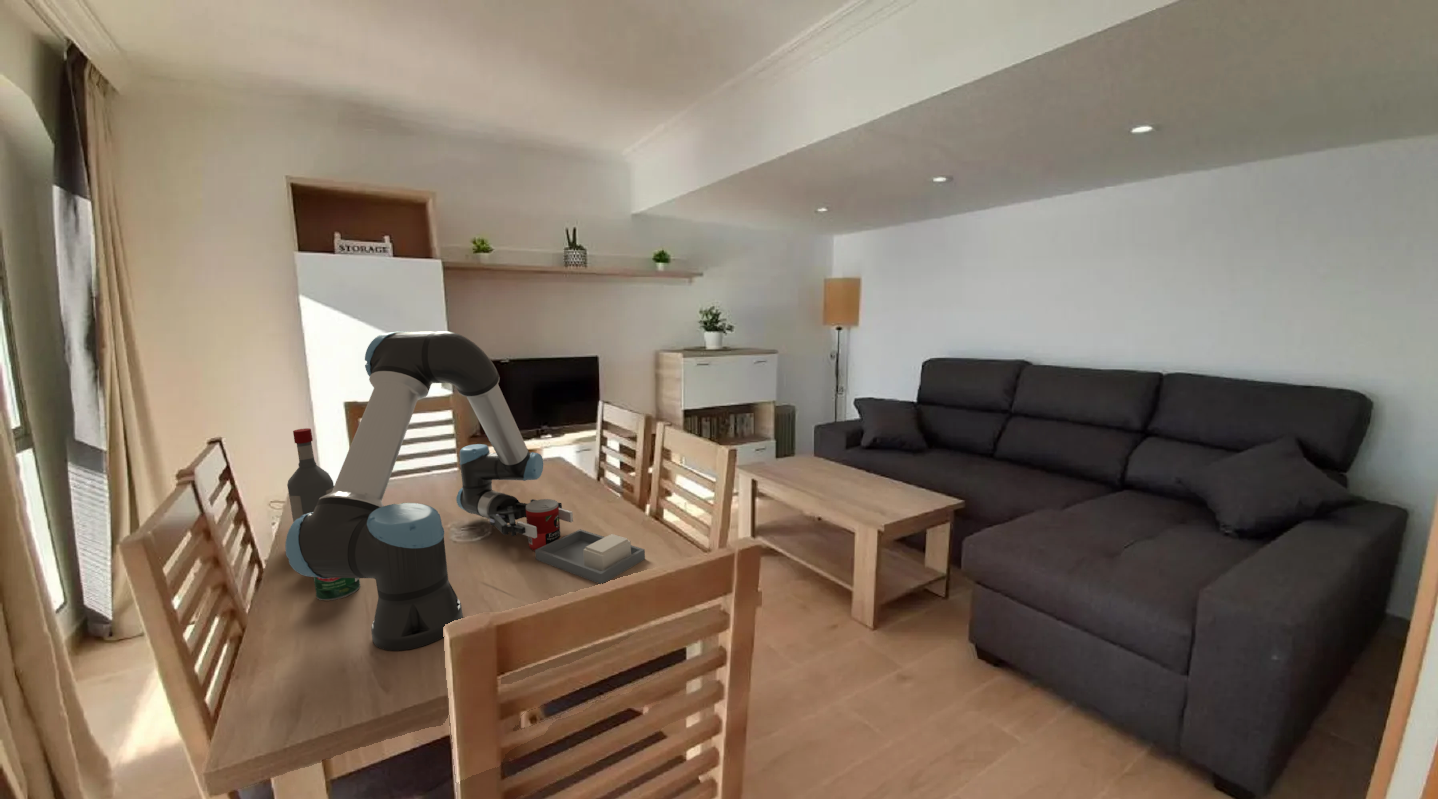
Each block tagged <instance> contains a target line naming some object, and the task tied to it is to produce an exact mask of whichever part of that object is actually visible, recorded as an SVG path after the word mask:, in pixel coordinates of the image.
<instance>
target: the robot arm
mask: <svg viewBox="0 0 1438 799" xmlns="http://www.w3.org/2000/svg"><path fill="white" fill-rule="evenodd" d="M364 361H366V363H365V365H364V368H365V371H366V373H367V375H368V378H369V379H368V381H369V383H370V384H371V386H372V387H373V390H372V392H371V395H370V397H369V400H368V401H367V405H366V407H365V410H364V412H363V414H362V416H361V419H360V421H359V424H358V427H357V429H356V432H355V434H354V437H353V438H352V440H351V441H352V442H351V444H350V447H349V449H348V452H347V453H346V456H345V459H344V461H343V464H342V466H341V469H340V471H339V474H338V476H337V478H336V480H335V483H334V488H333V490H332V492H331V493H329V494H327V495H325V496H322V497H320V498H319V500H318V502H317V505H316V507H315V510H314V512H310V513H307V514H304V515H302V516H301V517H300V518H298V519H296V520H295V521H294V522H293V521H292V523H291V525H290V527H289V529H288V531H287V533H286V538H285V542H284V543H285V555H286V558H287V559H288V564H289V565H290V567H291V568H292V569H293V570H294V571H295V572H296V573H298V574H299V575H302V576H304V577H309V578H310V577H312V578H314V577H319V578H322V579H327V578H359V579H374V580H375V582H376V583H375V584H376V590H377V597H378V599H377V604H376V608H375V613H374V619H373V621H372V624H371V627H370V628H371V638H372V642H373V644H374V646H375V647H377V648H379V649H381V650H384V651H385V650H386V651H406V650H407V651H408V650H412V649H416V648H420V647H421V648H422V647H424V646H426V645H430V644H432V643H434V642H437V641H439V640H441V639H442V638H444V637H443V627H444V626H445V624H448V623H450V622H452V621H454V620H458V619H461V618H462V619H463V606H462V603H461V601H460V599H459V598H458V596H457V594H456V592H455V590H454V588H453V586H452V584H451V583H450V581H449V580H450V579H449V573H448V565H447V564H448V563H447V555H446V554H447V553H446V545H445V529H444V527H443V522H442V519H441V515H440V513H439V512H438V510H437V509H436V508H434V507H432V506H430V505H428V504H425V503H419V502H418V503H417V502H402V503H399V504H397V503H393V504H392V503H391V504H388V505H384V504H383V499H384V497H385V496H384V495H385V492H386V489H387V487H388V484H389V482H390V479H391V476H392V473H393V471H394V467H395V465H396V462H397V459H398V457H399V454H400V450H401V448H402V445H403V442H404V440H405V437H406V433H407V431H408V429H409V425H410V422H411V420H412V417H413V414H414V411H415V409H416V405H417V404H418V403H417V402H418V401H419V400H422V399H424V398H426V397H427V396H428V395H429V391H430V389H431V386H432V384H450V385H452V386H454V387H455V388H456V390H457V392H458V393H459V395H461V396H462V397H465V398H466V400H467V401H468V402H469V404H470V407H471V408H472V410H473V412H474V414H475V416H476V418H477V420H478V422H479V424H480V425H481V428H482V429H483V431H484V433H485V435H486V436H487V438H488V441H489V442H490V445H491V446H492V448H493V450H494V451H495V452H491V451H490V449H489V446H488V445H487V444H481V443H477V444H476V443H475V444H469V445H466V446H464V447H462V448H461V449H460V450H459V467H460V475H461V482H462V483H461V484H462V486H461V488H460V489H459V490H458V492H457V494H456V495H457V496H456V497H455V498H456V499H455V500H456V504H457V506H458V507H459V508H460V509H462V511H465V512H467V513H468V514H470V515H471V514H472V515H476V516H479V517H482V518H485V519H488V520H489V524H490V525H491V526H494V527H495V529H497V530H498V531H499V532H500V533H501V534H502V535H504V536H507V535H509V533H511V536H512V537H515V536H517V534H519V535H524V536H527V537H528V536H529V537H532V538H537V529H536V526H533V525H530V524H527V522H523V521H521V520H520V519H523V518H526V505H527V504H528V503H526V502H520V501H519V499H518V498H517V497H516V496H513V495H511V494H507V493H504V492H500V491H496V490H493V481H523V482H527V481H535V480H536V481H537V480H538V479H540V477H541V476H542V474H543V470H544V458H543V457H542V454H540V453H538V452H533V451H532V452H530V451H529V448H528V446H527V445H526V443H525V441H524V438H523V436H522V433H521V432H520V429H519V428H518V425H517V423H516V421H515V418H514V416H513V414H512V412H511V410H510V407H509V405H508V403H507V400H506V399H505V396H504V395H503V392H502V390H501V388H500V386H499V383H500V378H501V377H500V374H499V372H498V370H497V368H496V366H495V364H494V363H493V361H492V360H491V358H490V357H489V356H488V355H487V354H486V353H485V351H484V350H483V349H482V348H480V347H479V345H478V344H476V343H475V342H473V341H472V340H470V339H469V338H467V337H466V336H463V335H462V334H460V333H457V332H454V331H448V330H445V331H444V330H439V331H401V330H400V331H393V332H385V333H381V334H379V335H377V336H376V337H374V339H372V340H371V341H370V343H369V344H368V346H367V348H366V351H365V355H364ZM536 500H537V499H535V498H534V499H530V502H532V501H536ZM558 507H559V520H561V521H564V522H568V523H573V522H574V517H573V511H571V510H568V509H565V508H563V505H562V502H558ZM516 520H518V521H516Z"/></svg>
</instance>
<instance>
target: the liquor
mask: <svg viewBox="0 0 1438 799" xmlns="http://www.w3.org/2000/svg"><path fill="white" fill-rule="evenodd" d="M292 434H293V440H294V444H296V449H297V456H298V467H297V469H295V472H294V473H293V474H292V475H291V476H290V477H289V479H288V480H287V484H286V485H287V492H288V498H289V505H290V510H291V515H292V523H293V522H294V521H295V520H296V519H298V518H300V517H301V516H302V515H304V514H307V513H310V512H314V510H315V507H316V505H317V502H318V500H319V498H320V497H322V496H325V495H327V494H329V493H331V492H332V490H333V488H334V485H335V483H334V480H333V479H332V477H331V476H330V473H329V472H327V471H326V470H325V469H323V468H322V467H320V466H319V465H318V464H317V462H316V460H315V456H314V450H313V444H312V442H313V440H314V438H313V433H312V429H311V428H307V427H306V428H299V429H295V430H293V431H292Z"/></svg>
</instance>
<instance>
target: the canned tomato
mask: <svg viewBox="0 0 1438 799" xmlns="http://www.w3.org/2000/svg"><path fill="white" fill-rule="evenodd" d="M313 581H314V589H315V596H316V597H317V598H316V599H317V600H318V599H319V601H321V600H331V601H336V600H340V599H343V598H345V597H349V596H350V595H353V594H354V593H355V592H357V591H358V590H359V589H360V588H361V582H360V578H327V579H322V578H319V577H313ZM352 593H353V594H352Z"/></svg>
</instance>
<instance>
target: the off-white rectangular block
mask: <svg viewBox="0 0 1438 799" xmlns="http://www.w3.org/2000/svg"><path fill="white" fill-rule="evenodd" d="M631 543H632V542H631V540H629V539H628V538H627V537H623V536H620V535H617V534H614V533H611V534H609V535H606V536H604V538H602V539H600V540H598V541H596V542H594V543H592V544H590V545H588V546H586V548H585V549H583V553H584V566H587V567H590V568H593V569H595V570H598V571H603V570H605V569H607V568H608V567H610V566H612V565H614V564H615V563H617V562H619V561H621V560H623V559H624V558H626V557H628V556H630V555H631V545H632V544H631Z"/></svg>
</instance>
